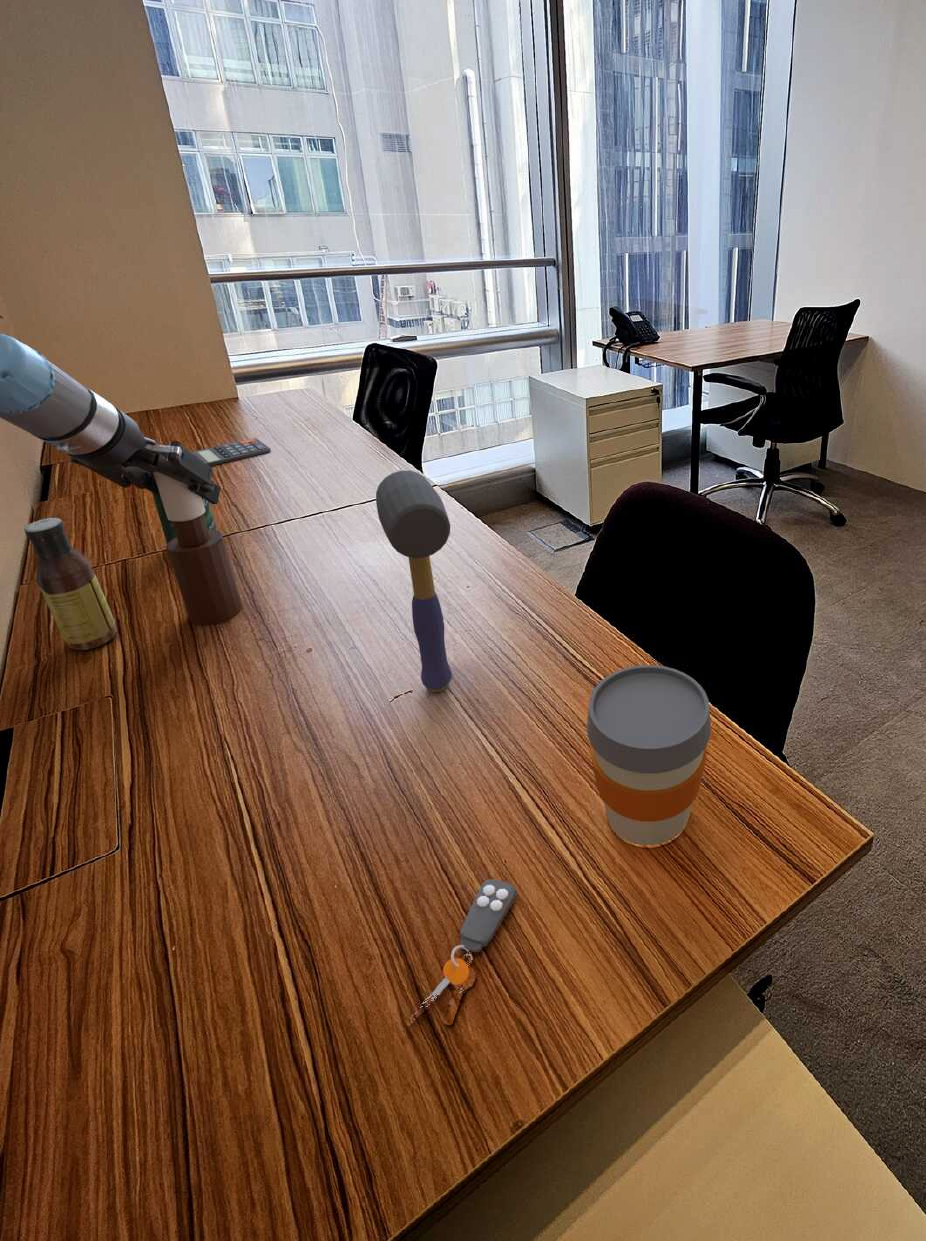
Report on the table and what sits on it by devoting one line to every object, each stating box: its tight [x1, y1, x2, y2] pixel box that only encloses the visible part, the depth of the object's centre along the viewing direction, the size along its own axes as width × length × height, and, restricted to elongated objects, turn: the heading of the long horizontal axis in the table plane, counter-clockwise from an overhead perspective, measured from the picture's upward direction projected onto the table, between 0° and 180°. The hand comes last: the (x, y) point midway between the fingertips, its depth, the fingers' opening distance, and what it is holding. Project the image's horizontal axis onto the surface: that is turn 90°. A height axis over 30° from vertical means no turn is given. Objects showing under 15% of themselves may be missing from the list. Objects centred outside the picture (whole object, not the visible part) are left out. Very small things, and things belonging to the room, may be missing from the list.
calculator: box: [192, 437, 272, 467], centre depth 172 cm, size 12×1×15 cm
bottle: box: [165, 514, 243, 626], centre depth 104 cm, size 7×7×17 cm
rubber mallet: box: [375, 470, 453, 693], centre depth 86 cm, size 12×8×30 cm, turn 27°
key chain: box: [410, 878, 517, 1020], centre depth 59 cm, size 13×4×2 cm, turn 163°
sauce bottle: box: [24, 517, 118, 651], centre depth 97 cm, size 7×6×20 cm
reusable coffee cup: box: [586, 664, 712, 845], centre depth 70 cm, size 13×13×15 cm
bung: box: [153, 472, 205, 522], centre depth 99 cm, size 5×5×10 cm
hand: (197, 496), depth 103 cm, fingers closed on bung, 5 cm apart
